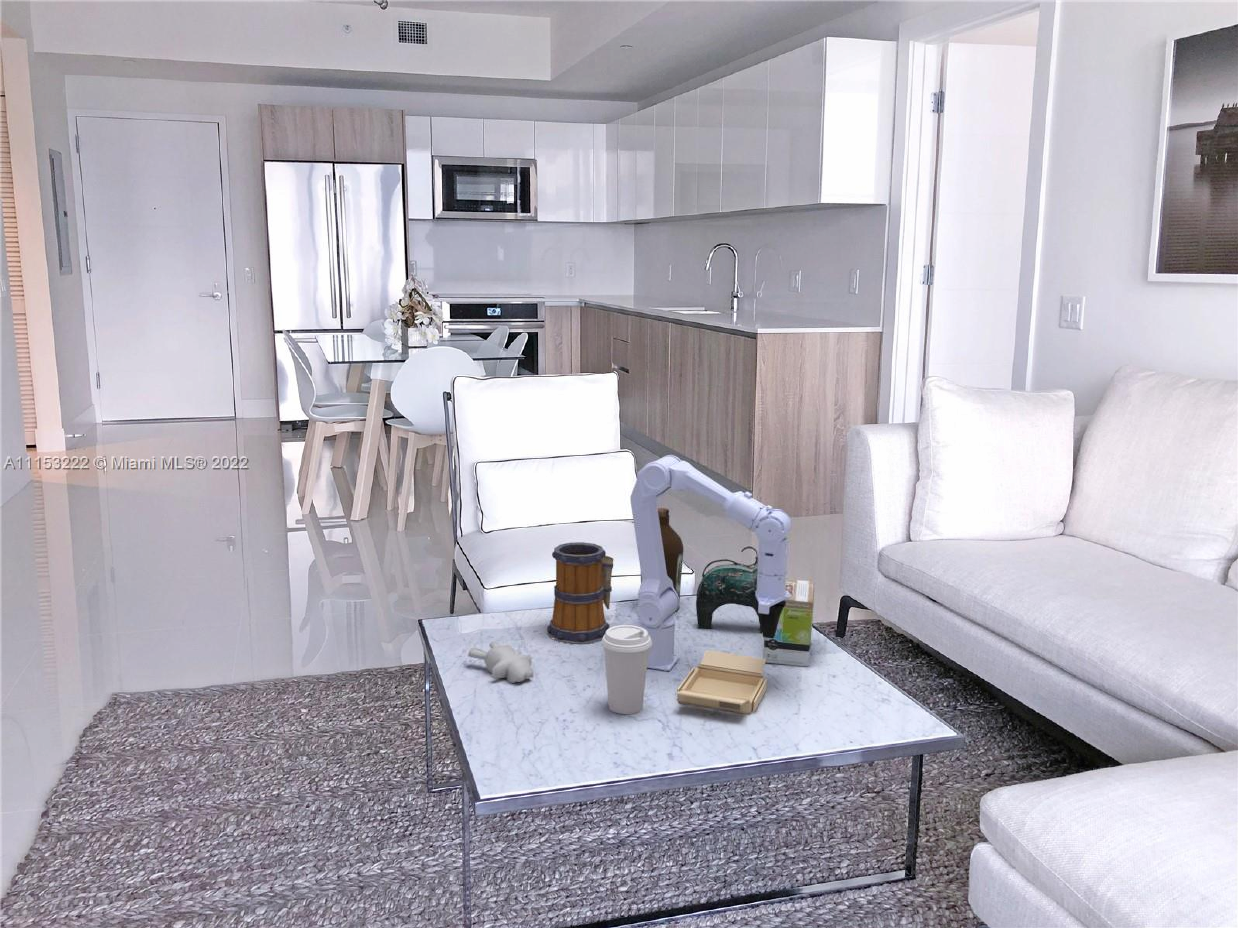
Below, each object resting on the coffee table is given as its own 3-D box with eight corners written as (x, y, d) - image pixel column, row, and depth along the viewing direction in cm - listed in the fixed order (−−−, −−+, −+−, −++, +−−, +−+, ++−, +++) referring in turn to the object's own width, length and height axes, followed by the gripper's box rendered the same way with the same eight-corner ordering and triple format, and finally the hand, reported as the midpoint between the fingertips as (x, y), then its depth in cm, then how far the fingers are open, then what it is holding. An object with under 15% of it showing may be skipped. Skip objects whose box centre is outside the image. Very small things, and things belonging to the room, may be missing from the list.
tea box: (810, 667, 210) (814, 601, 207) (762, 663, 212) (765, 597, 209) (811, 642, 224) (814, 579, 222) (766, 638, 226) (769, 576, 223)
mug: (585, 612, 242) (586, 532, 238) (634, 625, 233) (636, 542, 229) (533, 634, 226) (533, 550, 222) (584, 649, 218) (584, 561, 214)
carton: (675, 702, 192) (675, 688, 192) (693, 676, 204) (694, 663, 204) (753, 715, 187) (754, 701, 187) (767, 687, 199) (768, 674, 199)
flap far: (700, 664, 204) (706, 650, 207) (700, 665, 204) (706, 651, 207) (761, 673, 199) (766, 658, 203) (761, 674, 200) (766, 660, 203)
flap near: (682, 691, 191) (676, 694, 187) (682, 690, 191) (676, 692, 187) (746, 702, 187) (742, 704, 183) (746, 700, 187) (742, 703, 183)
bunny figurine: (507, 671, 196) (463, 642, 206) (506, 694, 197) (462, 664, 207) (545, 659, 202) (500, 631, 212) (543, 681, 204) (499, 652, 214)
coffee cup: (614, 721, 184) (615, 644, 181) (592, 701, 192) (592, 627, 189) (659, 711, 188) (661, 636, 185) (635, 692, 196) (637, 620, 193)
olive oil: (638, 614, 240) (640, 514, 235) (638, 600, 251) (640, 503, 246) (682, 615, 240) (685, 515, 235) (681, 601, 250) (684, 504, 245)
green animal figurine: (780, 627, 233) (784, 545, 229) (781, 637, 227) (785, 553, 223) (696, 622, 236) (698, 540, 232) (694, 631, 230) (696, 548, 226)
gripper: (785, 584, 189) (782, 652, 192) (798, 564, 203) (795, 627, 205) (748, 580, 192) (746, 647, 194) (764, 560, 205) (761, 622, 208)
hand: (768, 636), depth 200 cm, fingers closed
